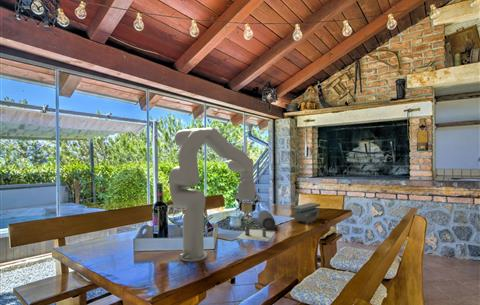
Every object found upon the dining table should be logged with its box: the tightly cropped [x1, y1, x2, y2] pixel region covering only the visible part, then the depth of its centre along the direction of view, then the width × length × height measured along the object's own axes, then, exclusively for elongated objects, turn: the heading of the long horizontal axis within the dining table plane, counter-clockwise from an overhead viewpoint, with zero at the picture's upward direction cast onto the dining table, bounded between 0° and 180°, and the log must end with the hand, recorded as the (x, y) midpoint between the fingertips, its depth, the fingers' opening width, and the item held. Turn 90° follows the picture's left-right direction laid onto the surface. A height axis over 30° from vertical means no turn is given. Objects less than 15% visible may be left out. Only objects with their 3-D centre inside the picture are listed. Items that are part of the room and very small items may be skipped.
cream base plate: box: [236, 227, 276, 242], centre depth 166 cm, size 20×18×6 cm
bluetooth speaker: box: [257, 210, 276, 231], centre depth 187 cm, size 23×9×10 cm, turn 2°
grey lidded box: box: [291, 202, 321, 224], centre depth 206 cm, size 25×8×11 cm, turn 135°
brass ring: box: [240, 202, 253, 213], centre depth 166 cm, size 7×7×4 cm
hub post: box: [244, 225, 250, 236], centre depth 166 cm, size 3×3×5 cm
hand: (247, 210), depth 166 cm, fingers closed on brass ring, 6 cm apart
